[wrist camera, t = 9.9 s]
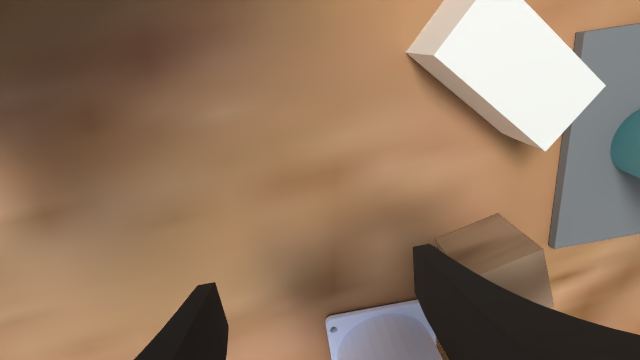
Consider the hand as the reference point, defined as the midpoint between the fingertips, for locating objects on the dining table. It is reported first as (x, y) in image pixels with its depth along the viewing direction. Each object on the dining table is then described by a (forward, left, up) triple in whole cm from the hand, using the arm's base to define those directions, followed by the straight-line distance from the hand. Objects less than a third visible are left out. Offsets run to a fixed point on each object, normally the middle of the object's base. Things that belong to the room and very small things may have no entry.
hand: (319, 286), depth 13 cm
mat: (0, -22, -9) cm, 23 cm away
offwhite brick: (+6, -11, -10) cm, 16 cm away
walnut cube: (-7, -11, -10) cm, 16 cm away
